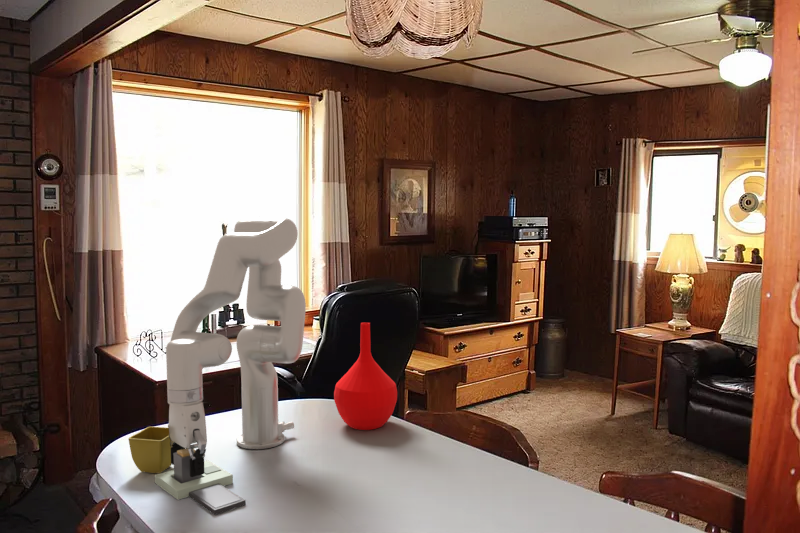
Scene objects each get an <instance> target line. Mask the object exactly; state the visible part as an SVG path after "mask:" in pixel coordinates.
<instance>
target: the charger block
mask: <svg viewBox="0 0 800 533" xmlns="http://www.w3.org/2000/svg"><path fill="white" fill-rule="evenodd" d="M193 451H194V453H195V451H196V449H195V448H194V449H193ZM173 455H174V465H173V470H174V479H175V480H176V481H178V482H179V483H185V482H188V481H192V480H195V479H199V478H201V475H198V476H195V477H191V476H190V467H189V459H191V456H190V453H189V450H188V449H186V448H185V449H182V450H177V452H176V453H173Z"/></svg>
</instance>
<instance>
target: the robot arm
mask: <svg viewBox="0 0 800 533" xmlns="http://www.w3.org/2000/svg"><path fill="white" fill-rule="evenodd" d="M297 240H298V228H297V226H296V224H295V223H294V221H293V220H291V219H289V218H286V217H248V218H243V219H240V220H238V221H237V222H236V223H235V225H234V231H233V232H228V233H226V234H224V235H222V236H221V237H220V239H219V240H218V243H217V245H216V249H215V250H214V251H215V252H214V254H213V259H212V262H211V265H210V268H209V272H208V276H207V278H206V282H205V285H204V286H203V289H202V290H201V291H200V292H198V293H197V294H196V295H195V296H194V297H192V299H191V300H190V301H189V302H188V303H186V305H185V306H184V308H183V309H182V310H181V311H180V313H179V315H178V317H177V319H176V320H175V323H174V327H173V331H172V334H171V337H170V341H169V342H167V344H166V349H165V350H166V351H165V355H166V356H165V358H166V386H167V388H166V390H167V391H166V392H167V394H166V395H167V404H168V405H169V408H168V424H167V428H168V429H169V437H170V440H171V441H170V447H171V466H174V455H173V453H176V452H177V450H182V449H188V450H189V453H190V456H191V459H189V467H190V476H191V477H195V476H198V475H202V474H204V461H205V456H206V451H207V448H206V447H207V444H208V436H207V435H208V434H207V422H206V414H205V408H204V402H203V400H204V391H203V390H204V388H203V387H204V386H203V369H205V368H214V367H219V366H221V365H223V364H225V363H226V362H228V360H229V359H230V357H231V355H232V352H233V351H232V350H233V346H232V343H231V340H230V339H229V338H228V337H226V335H223V334H220V333H211V332H210V333H209V332H198V328H199V326H200V324H201V323H202V321H203V320H204V319H205V318H206V317H207V316H208V315H210V314H211V313H213V312H214V311H217V310H219V309H221V308H223V307H225V306H227V305H230V304H232V303H234V302H235V301H237V300H238V299H240V295H241V292H242V288H243V284H244V282H245V277H246V275H247V274H246V273H247V271H249V272H248V280H247V282H248V283H247V293H246V313H247V315H248V316H249V317H251V319H256V320H261V321H275V322H276V321H277V322H280V326H279V325H278V326H277V325H267V324H265V325H264V324H251V325H248V326H244V327H243V328H242V329H241V330H240V331H239V333H238V334H237V335H236V336H237V337H236V350H237V356H238V359H239V365H240V378H241V382H240V383H241V421H242V422H241V423H242V424H241V425H242V429H241V430H242V434H240V435H238V437H237V438H236V445H237V446H238V447H240V448H242V449H247V450H265V449H270V448H275V447H277V446H279V445H282V444H283V443H284V442H285V439H286V438H285V435H284V432H285V431H286V430H287V431H288V430H293V429H295V423H294V422H293V421H289V422H286V423H285V421H279V388H278V385H279V383H278V382H279V380H278V379H279V378H278V373H277V370H276V367H275V366H274V364H273V363H275V364H276V363H277V364H292V363H295V362H296V361H298V359H300V356H301V353H302V350H303V343H304V333H305V322H306V321H305V319H306V310H307V309H306V298H305V294H304V293H303V291H302V289H301V288H299V287H297V286H296V285H288V284H287V285H285V284H284V285H283V284H282V282H281V281H282V264H281V262H280V259H281V258H282V257H283V256H285V255H286V254H287V253H288V252H289V251H291V250H292V249H293V248H294V246H295V245H296V242H297ZM193 449H194V450H196V451H195V453H194V451H193Z"/></svg>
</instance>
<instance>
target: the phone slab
mask: <svg viewBox="0 0 800 533" xmlns="http://www.w3.org/2000/svg"><path fill="white" fill-rule="evenodd" d="M189 498H190V499H192V500H193V501H194V502H196V503H197V504H199V505H200V506H201V507H203V508H204V509H206V510H207V511H208V512H209V513H211V514H213V515H214V516H215V515H219V514H223V513H225V512H228V511H232V510H234V509H237V508H240V507H242V506H246V501H247V500H246V499H244V498H242V497H241V496H239V495H238V494H237V493H235V492H233V491H232V490H230V489H229V488H227V487H225V486H222V485H221V484H219V483H218V484H214V485H211V486H208V487H204V488H201V489H198V490H194V491H191V492H189Z"/></svg>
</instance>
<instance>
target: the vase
mask: <svg viewBox="0 0 800 533" xmlns="http://www.w3.org/2000/svg"><path fill="white" fill-rule="evenodd" d="M359 339H360V343H359V346H360V348H359V349H360V351H359V352H360V353H359V356H358V358H357V360H356V361H355V362H354V363H353V365H352V366H351V367H350V368H349V369H348V371H347V372H346V373H344V375H343V376H341V378H340V379H339V380H338V381H337V382H336V384H335V386H334V391H333V399H334V400H333V401H334V404H335V407H336V409H337V412H338V415H339V416H340V418H341V420H342V421H343V422H344V423H345V424H346V425H347V426H348V427H349V428H351V429H353V430H354V429H355V430H362V431H370V430H376V429H379V428H381V427H382V428H383V426H384V425H385V424H386V423H387V422H388V421H389V420H390V418H391V417H392V415H393V413H394V410H395V407H396V405H397V404H396V403H397V401H398V389H397V384H396V382H395V381H394V380H393V379H392V378H391V377H390V376H389V375H388V374H387V373H386V372H385V371H384V370H383V369H382V368H381V366H380V365H379V364H378V363H377V362H376V360H375V359H374V358H373V356H372V352H371V351H372V350H371V348H372V347H371V345H372V344H371V343H372V342H371V322H360V338H359Z"/></svg>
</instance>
